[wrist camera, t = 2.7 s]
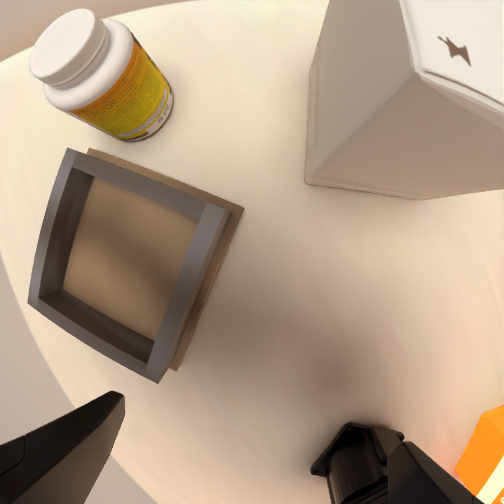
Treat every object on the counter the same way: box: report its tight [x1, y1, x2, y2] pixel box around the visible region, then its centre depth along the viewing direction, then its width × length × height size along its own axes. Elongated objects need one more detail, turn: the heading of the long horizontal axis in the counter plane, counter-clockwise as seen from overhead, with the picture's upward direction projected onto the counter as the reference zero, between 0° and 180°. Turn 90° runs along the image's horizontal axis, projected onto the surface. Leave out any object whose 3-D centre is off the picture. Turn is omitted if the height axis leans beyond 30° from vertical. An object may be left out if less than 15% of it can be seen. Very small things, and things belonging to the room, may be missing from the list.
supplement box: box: [305, 0, 504, 200], centre depth 10 cm, size 9×9×15 cm
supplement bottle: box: [29, 9, 173, 141], centre depth 13 cm, size 6×6×10 cm
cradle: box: [28, 148, 244, 384], centre depth 17 cm, size 12×12×4 cm
